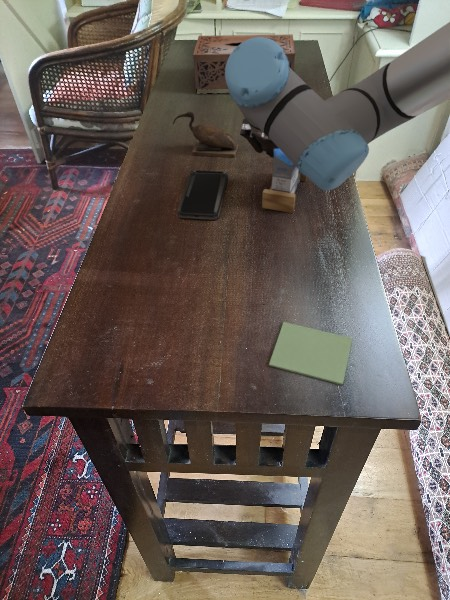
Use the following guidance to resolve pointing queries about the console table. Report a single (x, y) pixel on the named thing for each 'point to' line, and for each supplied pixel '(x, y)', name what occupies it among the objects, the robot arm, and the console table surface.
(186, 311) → the console table surface
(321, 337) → the felt pad
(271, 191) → the tape holder
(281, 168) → the blue grey carton
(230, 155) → the figurine
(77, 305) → the console table surface
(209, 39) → the tissue box cover
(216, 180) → the phone
